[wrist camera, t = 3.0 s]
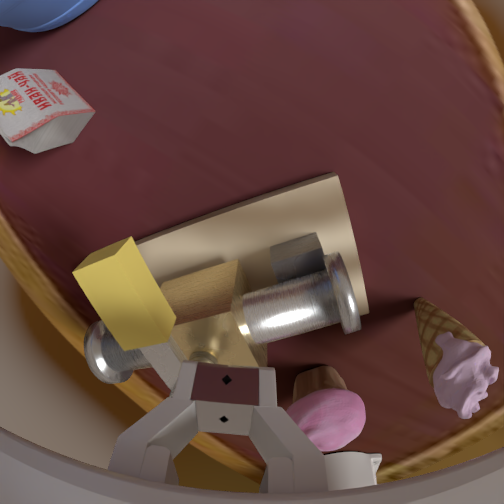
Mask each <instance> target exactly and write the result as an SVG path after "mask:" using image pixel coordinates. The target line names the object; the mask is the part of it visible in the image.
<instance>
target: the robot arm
mask: <svg viewBox="0 0 504 504" xmlns="http://www.w3.org/2000/svg"><path fill="white" fill-rule="evenodd" d="M198 431H202V432H214V433H226V434H236V435H248V436H249V437H250V439H251V440H252V442H253V444H254V445H255V447H256V448H257V450H258V451H259V453H260V455H261V456H262V458H263V459H264V461H265V462H266V464H267V467H266V470H265V473H264V476H263V479H262V482H261V485H260V492H259V493H244V492H228V491H216V490H207V489H198V488H191V487H184V486H178V484H179V478H178V475H177V472H176V469H175V466H174V463H173V459H174V458H175V457H176V456H177V455H178V454H179V453H180V452H181V450H182V449H183V448H184V447H185V446H186V445H187V444H188V443H189V442H190V441H191V440H192V439H193V438H194V436H195V435H196V434H197V433H198ZM381 460H382V456H381V454H365V453H361V452H340V453H334V454H328V455H323V454H322V453H321V451H320V450H319V449H318V448H317V447H316V446H315V445H314V444H313V443H312V441H311V440H310V439H309V438H308V437H307V436H306V435H305V434H304V432H303V431H302V430H301V429H300V428H299V427H298V426H297V424H296V423H295V422H294V421H293V420H292V419H291V418H290V416H289V415H288V414H287V413H286V412H285V411H284V409H283V408H282V407H277V395H276V374H275V369H274V368H272V367H254V366H237V365H222V364H213V363H205V362H196V361H189V360H183V361H182V363H181V366H180V370H179V374H178V378H177V382H176V386H175V390H174V394H173V398H171V397H168V398H166V399H165V400H164V401H163V402H161V403H160V404H159V405H158V406H156V407H155V408H154V409H153V410H151V411H150V412H149V413H148V414H146V415H145V416H144V417H143V418H141V419H140V420H139V421H137V422H136V423H135V424H134V425H132V426H131V427H130V428H128V429H127V430H126V431H124V432H123V433H122V434H120V435H119V436H118V439H117V442H116V445H115V448H114V451H113V454H112V457H111V460H110V464H109V467H108V470H106V469H103V468H99V467H96V466H93V465H90V464H87V463H84V462H81V461H78V460H75V459H72V458H69V457H67V456H64V455H61V454H59V453H56V452H54V451H51V450H49V449H46V448H44V447H41V446H39V445H37V444H35V443H32V442H30V441H28V440H26V439H24V438H22V437H19V436H17V435H15V434H13V433H11V432H9V431H7V430H5V429H4V428H2V427H0V504H504V447H502V448H500V449H497V450H495V451H493V452H490V453H488V454H485V455H483V456H480V457H477V458H475V459H472V460H469V461H466V462H463V463H461V464H458V465H454V466H452V467H448V468H445V469H442V470H439V471H435V472H431V473H427V474H424V475H420V476H416V477H412V478H408V479H403V480H398V481H394V482H389V483H383V484H378V485H377V483H376V474H375V473H376V471H377V469H378V467H379V464H380V462H381Z"/></svg>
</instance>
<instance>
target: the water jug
mask: <svg viewBox="0 0 504 504" xmlns="http://www.w3.org/2000/svg"><path fill="white" fill-rule="evenodd" d="M97 1H98V0H0V26H4V27H11V28H13V29H16V30H20V31H27V32H42V31H47V30H51V29H54V28H57V27H59V26H61V25H64V24H66V23H68V22H69V21H71V20H73V19H75V18H76V17H78V16H79V15H81V14H82V13H84V12H85V11H86V10H88V9H89V8H90V7H91V6H93V5H94V4H95V3H96V2H97Z"/></svg>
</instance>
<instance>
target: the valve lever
mask: <svg viewBox="0 0 504 504" xmlns="http://www.w3.org/2000/svg"><path fill="white" fill-rule="evenodd" d="M72 273H73V275H74V277H75V278H76V280H77V282H78V283H79V285H80V287H81V288H82V290H83V291H84V293H85V295H86V296H87V298H88V299H89V301H90V302H91V304H92V306H93V307H94V309H95V310H96V312H97V313H98V315H99V316H100V318H101V319H102V321H103V322H104V324H105V325H106V326H107V328H108V329H109V331H110V332H111V334H112V335H113V336H114V338H115V339H116V341H117V342H118V343H119V345H120V346H121V347H122V349H123V350H124V351H127V350H132V349H137V348H139V349H140V350H141V352H142V353H143V354H144V356H145V357H146V358H147V360H148V361H149V362H150V364H151V365H152V366H153V368H154V369H155V370H156V372H157V373H158V374H159V376H160V377H161V378H162V379H163V381H164V382H165V383H166V384H167V386H168V387H169V388H170V389H171V393H170V396H169V397H171V398H173V394H174V390H175V386H176V382H177V378H178V374H179V370H180V366H181V363H182V361H183V360H188V359H187V358H186V356H185V355H184V353H183V352H182V350H181V349H180V347H179V346H178V344H177V343H176V341H175V340H174V338H173V337H172V335H171V331H172V328H173V326H174V323H175V320H176V316H175V314H174V312H173V311H172V309H171V307H170V306H169V304H168V302H167V301H166V299H165V297H164V295H163V294H162V292H161V290H160V288H159V287H158V285H157V283H156V281H155V279H154V278H153V276H152V274H151V272H150V270H149V269H148V267H147V265H146V263H145V261H144V259H143V257H142V256H141V254H140V252H139V250H138V248H137V246H136V244H135V242H134V240H133V238H132V236H131V237H128V238H126V239H124V240H121V241H119V242H116V243H114V244H112V245H109V246H107V247H105V248H102V249H100V250H98V251H95V252H93V253H91V254H89V255H88V256H87V257H86V258H85V259H84V261H83V262H82V263H81V264H80V265H79V266H78V267H77V268H76V269H75V270H74V271H73V272H72Z"/></svg>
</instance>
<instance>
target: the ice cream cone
mask: <svg viewBox="0 0 504 504" xmlns="http://www.w3.org/2000/svg"><path fill="white" fill-rule="evenodd" d="M414 309H415V315H416V321H417V327H418V332H419V338H420V343H421V348H422V353H423V358H424V362H425V366H426V370H427V375H428V379H429V383H430V385H431V386H432V387H433V388H434V391H435V394H436V396H437V398H438V401H439V403H440V405H441V406H442V407H445V408H452V409H454V410H456V411H457V413H458V415H459V417H460V418H462V419H468V418H470V417H471V416H472V413H471V412H477V411H478V410H479V409H480V407H479V404H478V401H480V400H482V399H484V398H486V397H487V396H488V393H487V392H485V391H486V389H487V387H488V384H492V383H494V382H495V381H496V380H497V377H498V371H499V368H498V367H493V366H491V365H490V362H489V360H490V358H491V352H490V350H489V348H488V346H485V345H484V343H483V342H482V341H480V340H479V339H478V338H477V337H476V336H475V335H474V334H473V333H472V332H470V331H469V330H468V329H467V328H466V327H465V326H463V325H462V324H461V323H459V322H458V321H457V320H455V319H454V318H453V317H451V316H450V315H448V314H447V313H445V312H444V311H443V310H441V309H439V308H438V307H436V306H435V305H433V304H432V303H430V302H428V301H427V300H425V299H424V298H418V299H417V300H416V301H415V302H414Z"/></svg>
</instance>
